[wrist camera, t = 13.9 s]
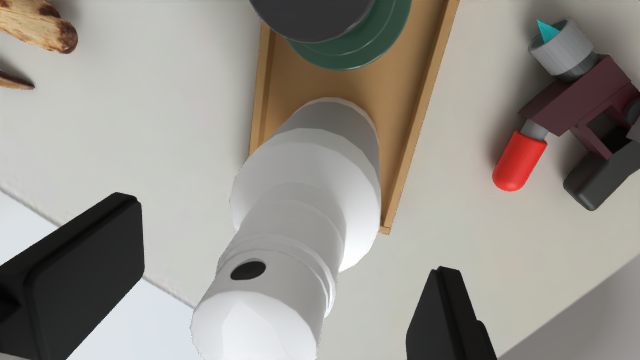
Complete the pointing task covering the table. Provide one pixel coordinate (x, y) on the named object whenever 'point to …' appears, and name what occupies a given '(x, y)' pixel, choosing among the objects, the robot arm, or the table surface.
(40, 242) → the robot arm
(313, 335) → the spray bottle
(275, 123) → the tray
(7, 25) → the lashed bone hook
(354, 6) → the green bottle
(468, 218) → the table surface
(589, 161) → the toy gun
